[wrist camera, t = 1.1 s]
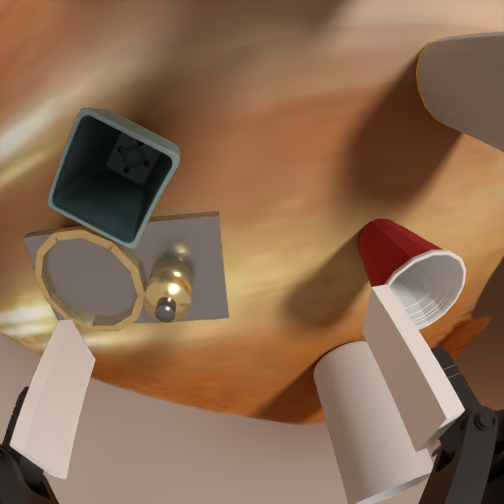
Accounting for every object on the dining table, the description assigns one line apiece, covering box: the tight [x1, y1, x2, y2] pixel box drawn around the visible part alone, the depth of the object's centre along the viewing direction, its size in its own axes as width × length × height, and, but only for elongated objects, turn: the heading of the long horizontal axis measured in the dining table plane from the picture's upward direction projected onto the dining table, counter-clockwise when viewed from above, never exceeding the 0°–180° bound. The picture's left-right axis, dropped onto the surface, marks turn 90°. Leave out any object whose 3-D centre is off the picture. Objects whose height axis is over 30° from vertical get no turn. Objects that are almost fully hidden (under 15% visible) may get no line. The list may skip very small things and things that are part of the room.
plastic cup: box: [358, 219, 466, 330], centre depth 31 cm, size 11×11×12 cm
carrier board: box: [23, 211, 229, 331], centre depth 31 cm, size 15×25×8 cm, turn 92°
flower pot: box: [48, 108, 180, 249], centre depth 24 cm, size 9×9×9 cm
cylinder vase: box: [313, 341, 433, 504], centre depth 37 cm, size 12×12×25 cm
